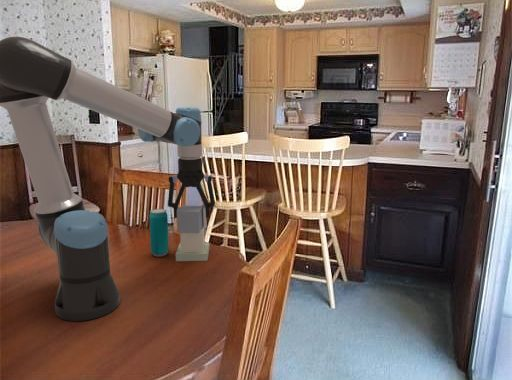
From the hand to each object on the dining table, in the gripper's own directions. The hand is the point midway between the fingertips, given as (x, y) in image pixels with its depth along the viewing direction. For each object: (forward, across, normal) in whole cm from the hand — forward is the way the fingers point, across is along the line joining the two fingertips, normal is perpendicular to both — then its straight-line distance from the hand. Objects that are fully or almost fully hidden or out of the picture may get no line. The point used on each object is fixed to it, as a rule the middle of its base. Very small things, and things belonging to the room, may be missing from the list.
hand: (192, 227), depth 137 cm
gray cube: (0, 0, +2) cm, 2 cm away
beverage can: (+10, +11, -1) cm, 15 cm away
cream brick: (+7, 0, 0) cm, 7 cm away
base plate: (+10, 0, 0) cm, 10 cm away
